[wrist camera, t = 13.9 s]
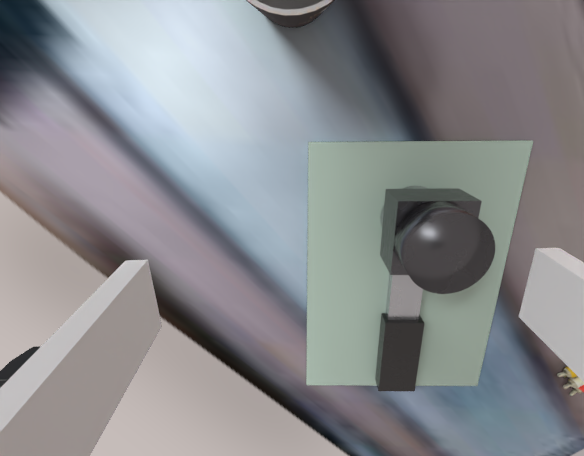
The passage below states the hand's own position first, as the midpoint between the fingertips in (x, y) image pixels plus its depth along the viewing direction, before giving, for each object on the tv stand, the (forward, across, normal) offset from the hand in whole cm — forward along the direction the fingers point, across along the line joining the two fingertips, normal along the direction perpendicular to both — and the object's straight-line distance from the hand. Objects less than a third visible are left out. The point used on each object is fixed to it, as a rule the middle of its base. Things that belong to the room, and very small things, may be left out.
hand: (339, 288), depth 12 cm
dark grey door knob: (+19, +10, -5) cm, 22 cm away
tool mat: (+21, +10, -12) cm, 26 cm away
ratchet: (+21, +9, -14) cm, 27 cm away
